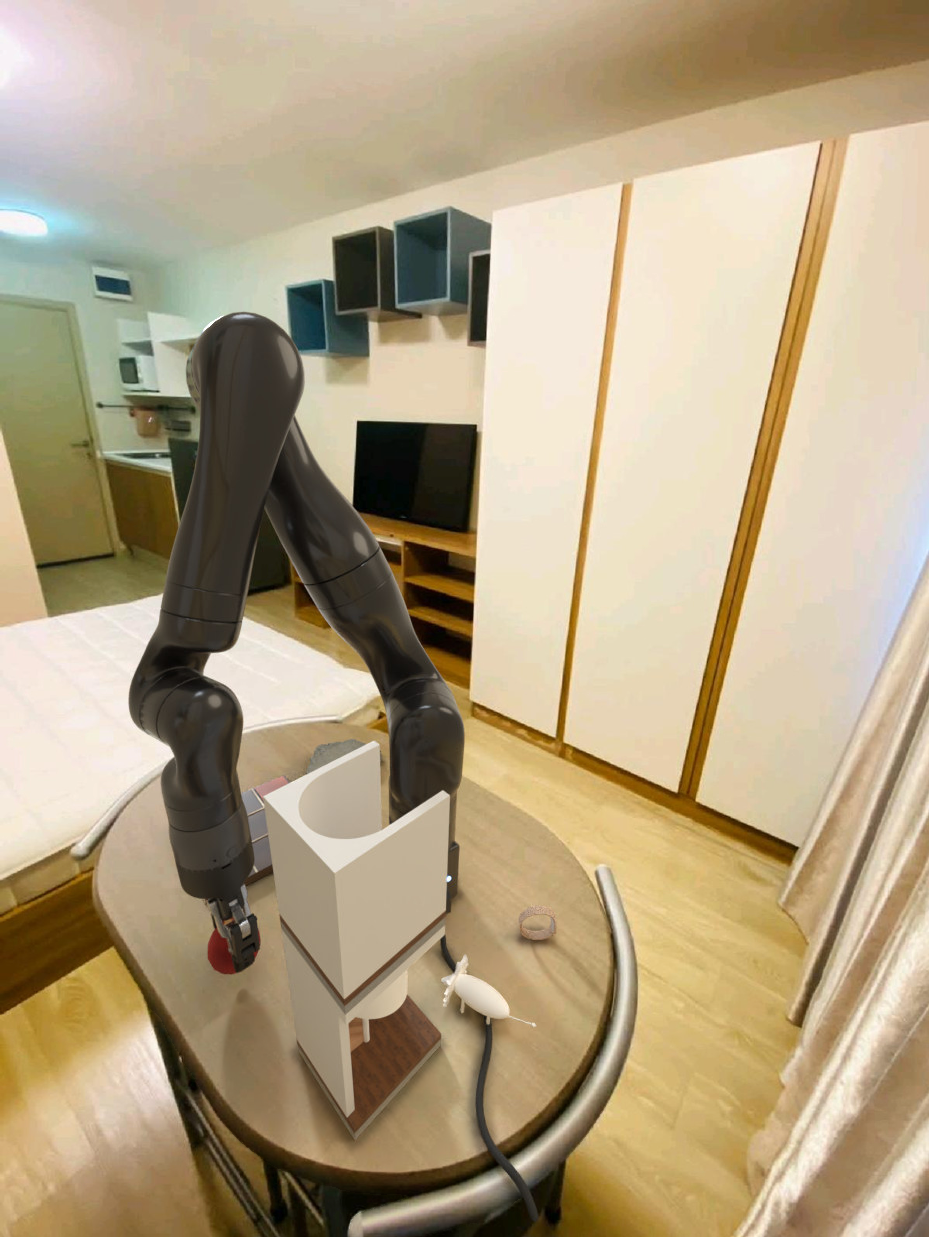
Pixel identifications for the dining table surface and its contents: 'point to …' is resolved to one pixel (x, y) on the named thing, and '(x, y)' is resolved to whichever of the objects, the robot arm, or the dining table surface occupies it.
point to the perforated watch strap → (541, 934)
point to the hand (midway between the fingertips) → (234, 945)
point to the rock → (332, 753)
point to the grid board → (260, 827)
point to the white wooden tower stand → (357, 927)
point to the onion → (222, 952)
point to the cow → (476, 994)
